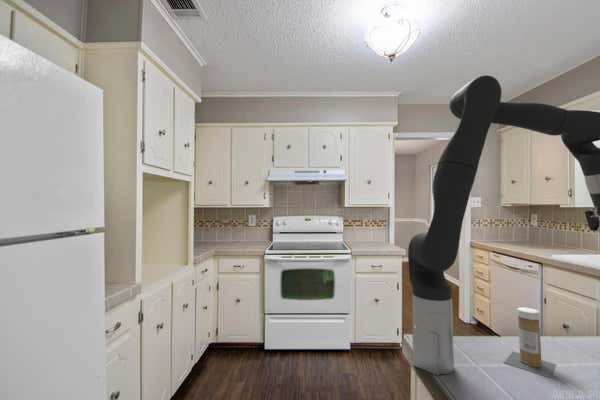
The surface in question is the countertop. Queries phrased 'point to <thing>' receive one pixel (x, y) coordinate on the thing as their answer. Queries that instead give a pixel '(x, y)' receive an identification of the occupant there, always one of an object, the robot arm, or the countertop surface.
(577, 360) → the countertop surface
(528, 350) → the sprinkles bottle
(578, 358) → the countertop surface
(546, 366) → the letter card
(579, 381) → the countertop surface
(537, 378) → the countertop surface
